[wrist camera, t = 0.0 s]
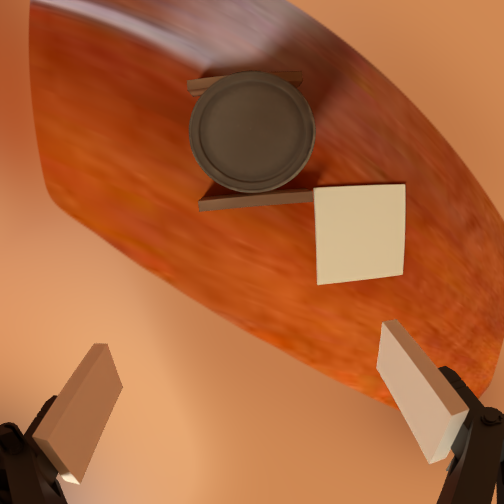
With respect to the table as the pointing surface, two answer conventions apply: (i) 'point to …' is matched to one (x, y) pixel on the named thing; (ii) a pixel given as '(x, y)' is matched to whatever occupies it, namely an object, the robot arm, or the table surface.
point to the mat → (359, 232)
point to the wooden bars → (250, 199)
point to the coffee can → (252, 131)
